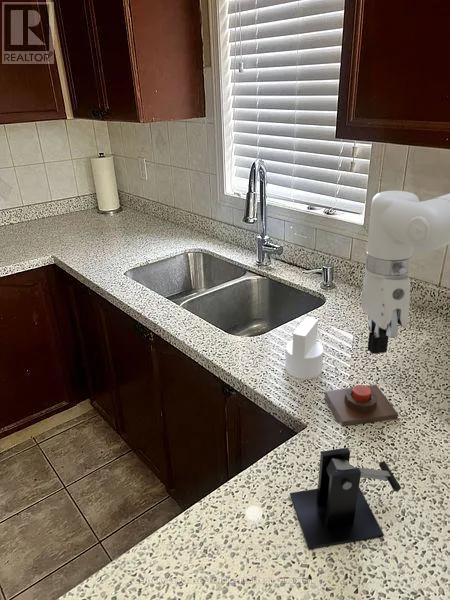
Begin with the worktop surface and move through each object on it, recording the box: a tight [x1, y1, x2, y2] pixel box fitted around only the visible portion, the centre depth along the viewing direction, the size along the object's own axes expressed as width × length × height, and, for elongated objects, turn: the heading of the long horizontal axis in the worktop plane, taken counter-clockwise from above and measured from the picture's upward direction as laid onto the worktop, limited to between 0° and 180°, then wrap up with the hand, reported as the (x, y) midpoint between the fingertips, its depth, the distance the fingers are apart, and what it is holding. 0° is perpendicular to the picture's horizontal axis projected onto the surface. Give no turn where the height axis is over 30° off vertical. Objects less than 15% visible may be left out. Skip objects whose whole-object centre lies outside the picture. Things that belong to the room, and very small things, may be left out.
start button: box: [352, 384, 371, 402], centre depth 94 cm, size 4×4×2 cm
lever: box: [326, 458, 402, 492], centre depth 69 cm, size 11×5×2 cm, turn 100°
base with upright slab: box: [284, 316, 325, 380], centre depth 107 cm, size 9×9×12 cm
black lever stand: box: [289, 447, 385, 551], centre depth 70 cm, size 12×10×13 cm
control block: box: [324, 384, 399, 427], centre depth 95 cm, size 12×10×4 cm
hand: (376, 350), depth 87 cm, fingers closed
